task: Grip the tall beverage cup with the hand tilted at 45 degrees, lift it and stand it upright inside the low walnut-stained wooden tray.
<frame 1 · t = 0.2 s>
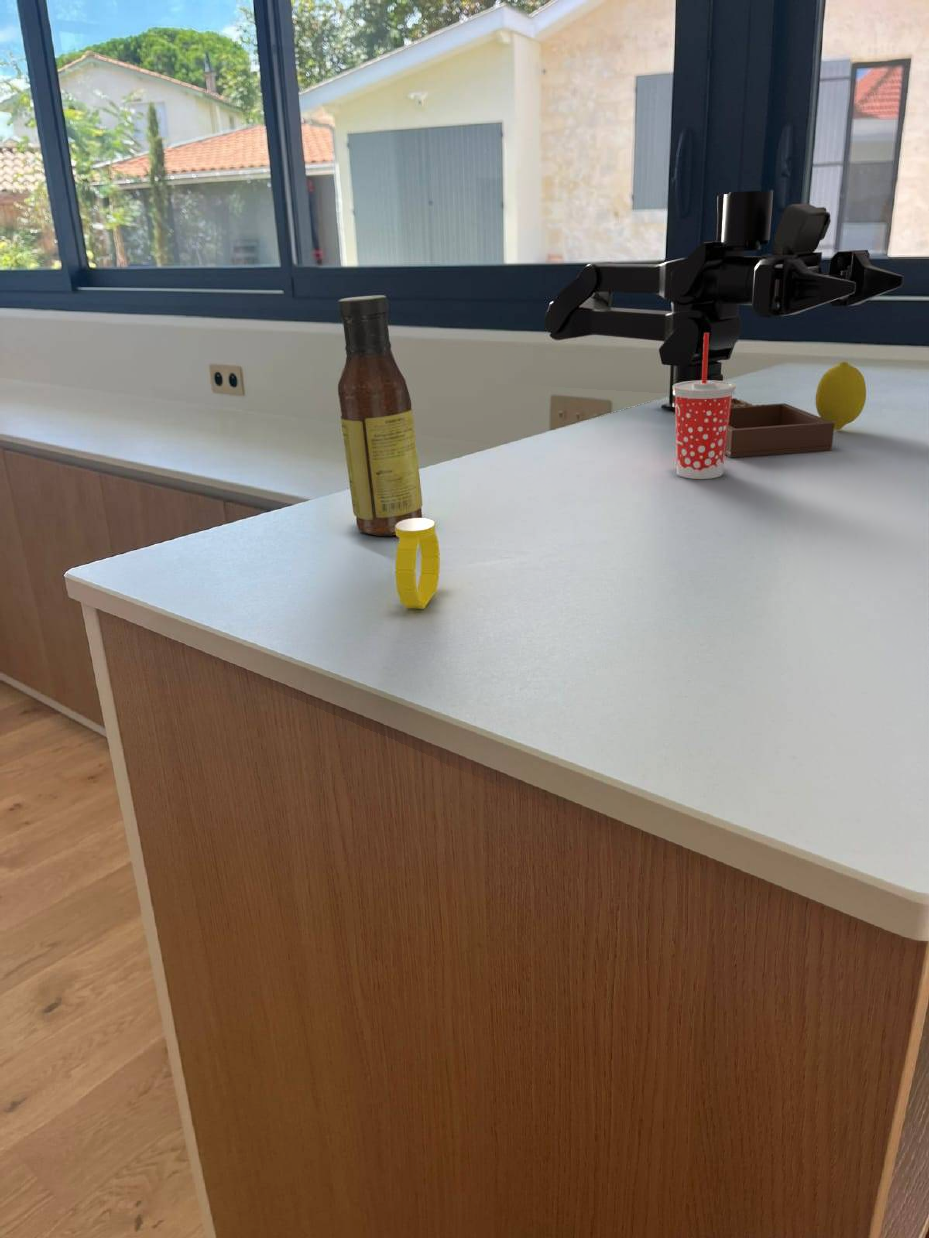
hand: (879, 284, 104), 17 cm above the worktop, tool horizontal, fingers open, 9 cm apart
lemon: (836, 431, 113), on the worktop
beverage cup: (699, 475, 98), on the worktop
pastry: (726, 420, 122), on the worktop
sauce bottle: (387, 530, 85), on the worktop
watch: (421, 604, 68), on the worktop
tray: (758, 442, 110), on the worktop
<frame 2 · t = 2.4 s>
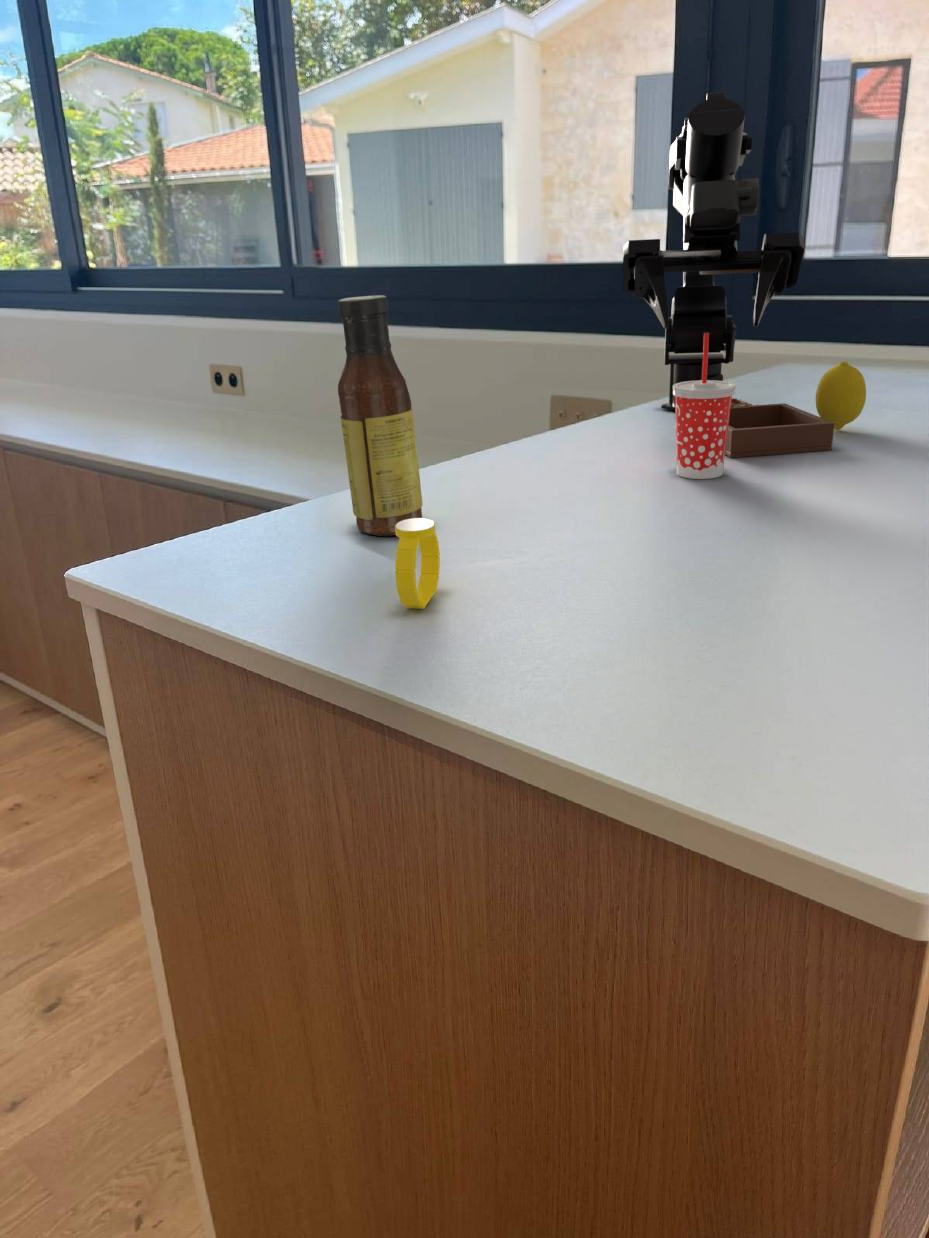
hand: (711, 325, 100), 14 cm above the worktop, tool tilted 45°, fingers open, 9 cm apart
nothing on the worktop moved.
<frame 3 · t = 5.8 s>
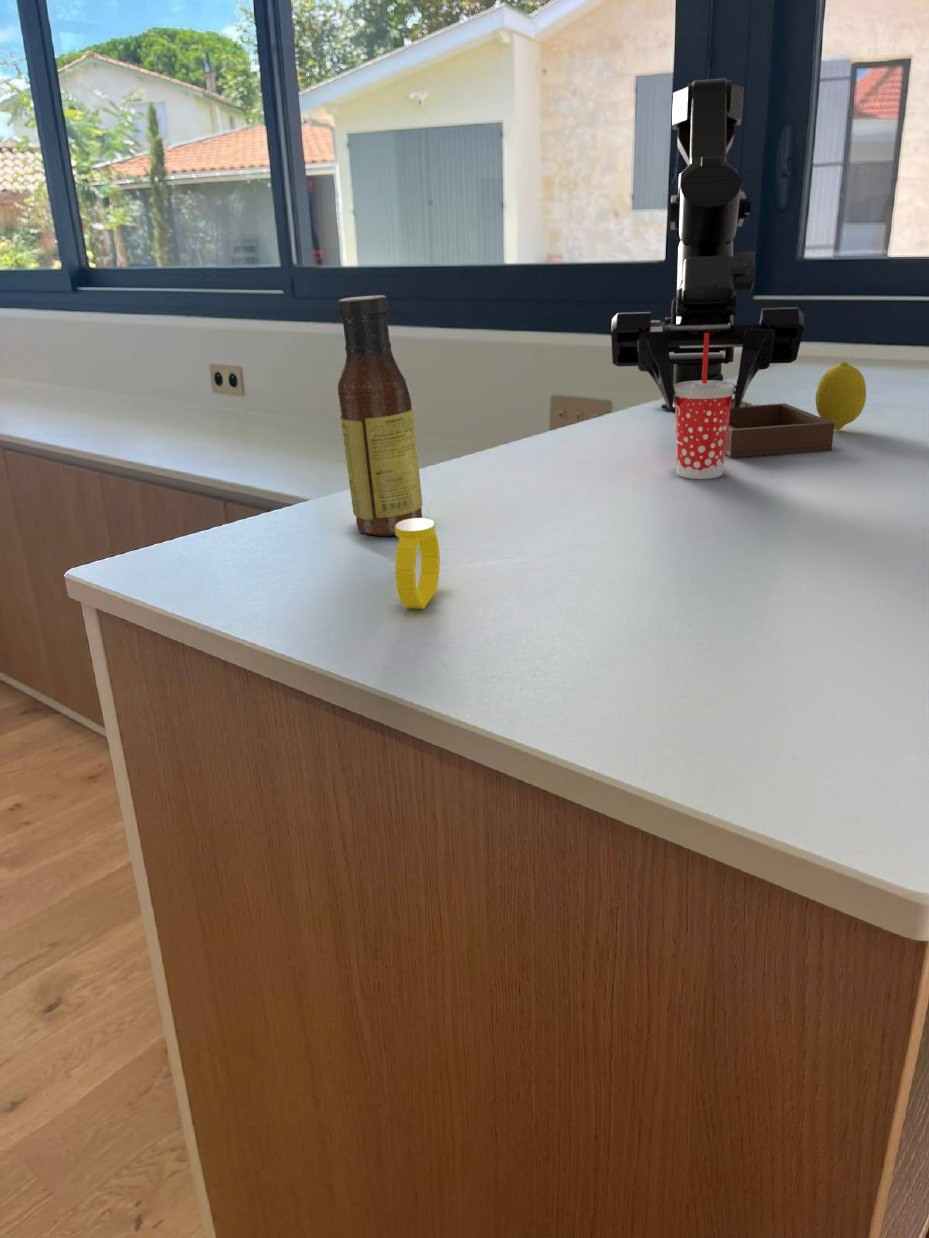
hand: (703, 407, 94), 7 cm above the worktop, tool tilted 45°, fingers closed on beverage cup, 6 cm apart
beverage cup: (699, 475, 98), on the worktop, touching gripper
everything else where it was.
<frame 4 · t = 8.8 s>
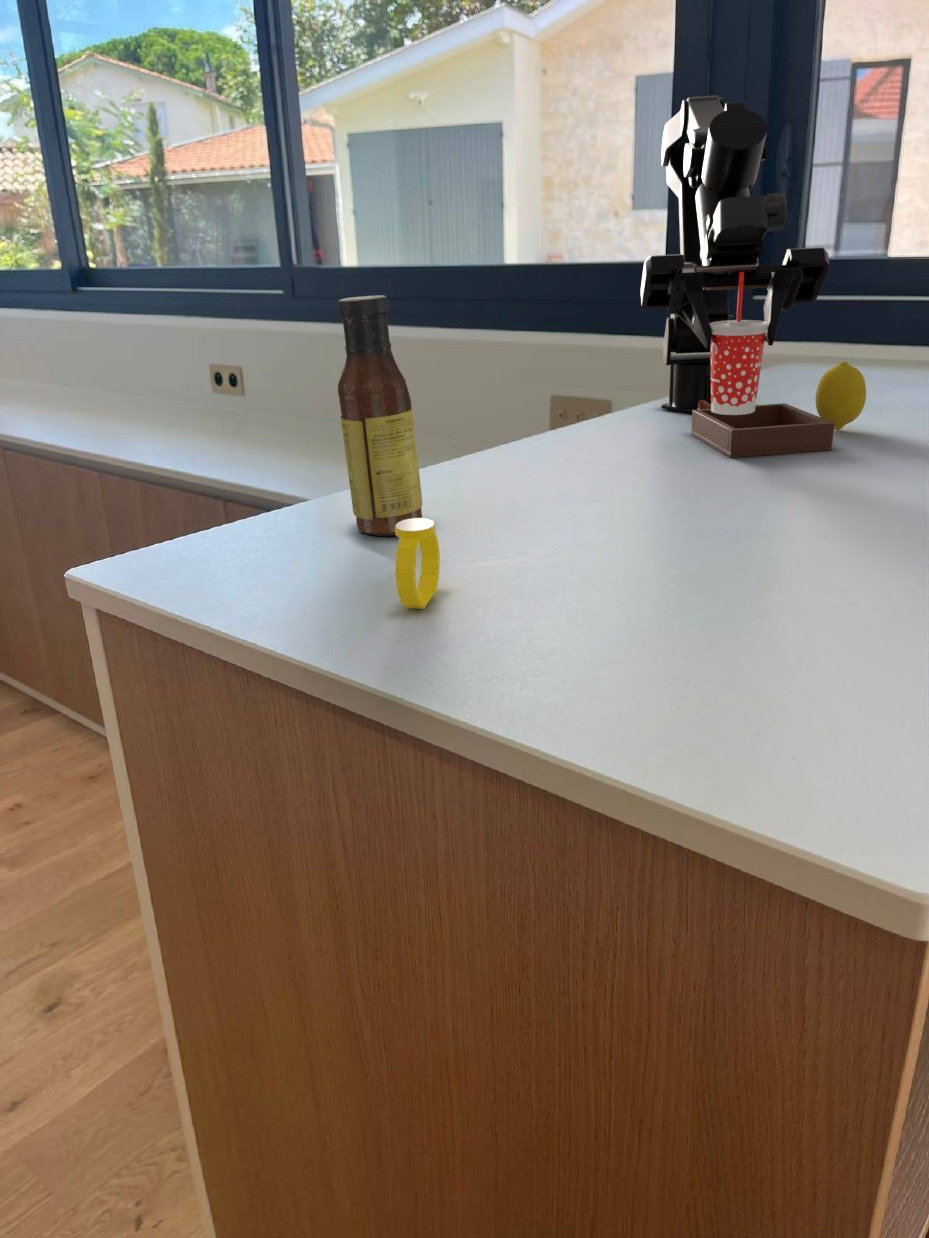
hand: (739, 344, 97), 12 cm above the worktop, tool tilted 45°, fingers closed on beverage cup, 6 cm apart
beverage cup: (732, 412, 102), point 5 cm above the worktop, touching gripper
everything else where it was.
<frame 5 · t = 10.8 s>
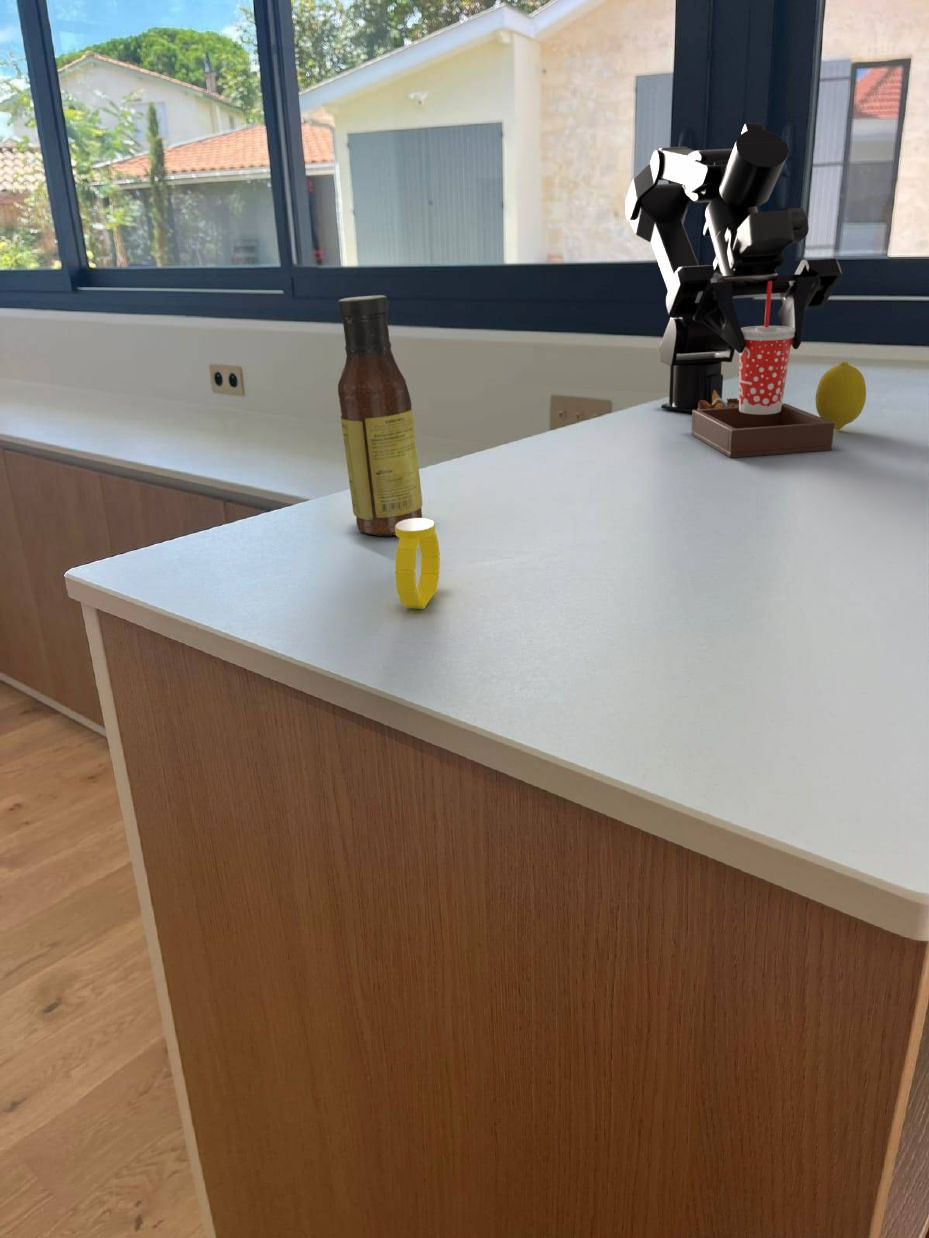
hand: (769, 348, 104), 11 cm above the worktop, tool tilted 45°, fingers closed on beverage cup, 6 cm apart
beverage cup: (759, 412, 108), point 3 cm above the worktop, touching gripper
everything else where it was.
when the fingers open (8 cm above the worktop, at t = 12.2 s): beverage cup stays where it is, resting on tray.
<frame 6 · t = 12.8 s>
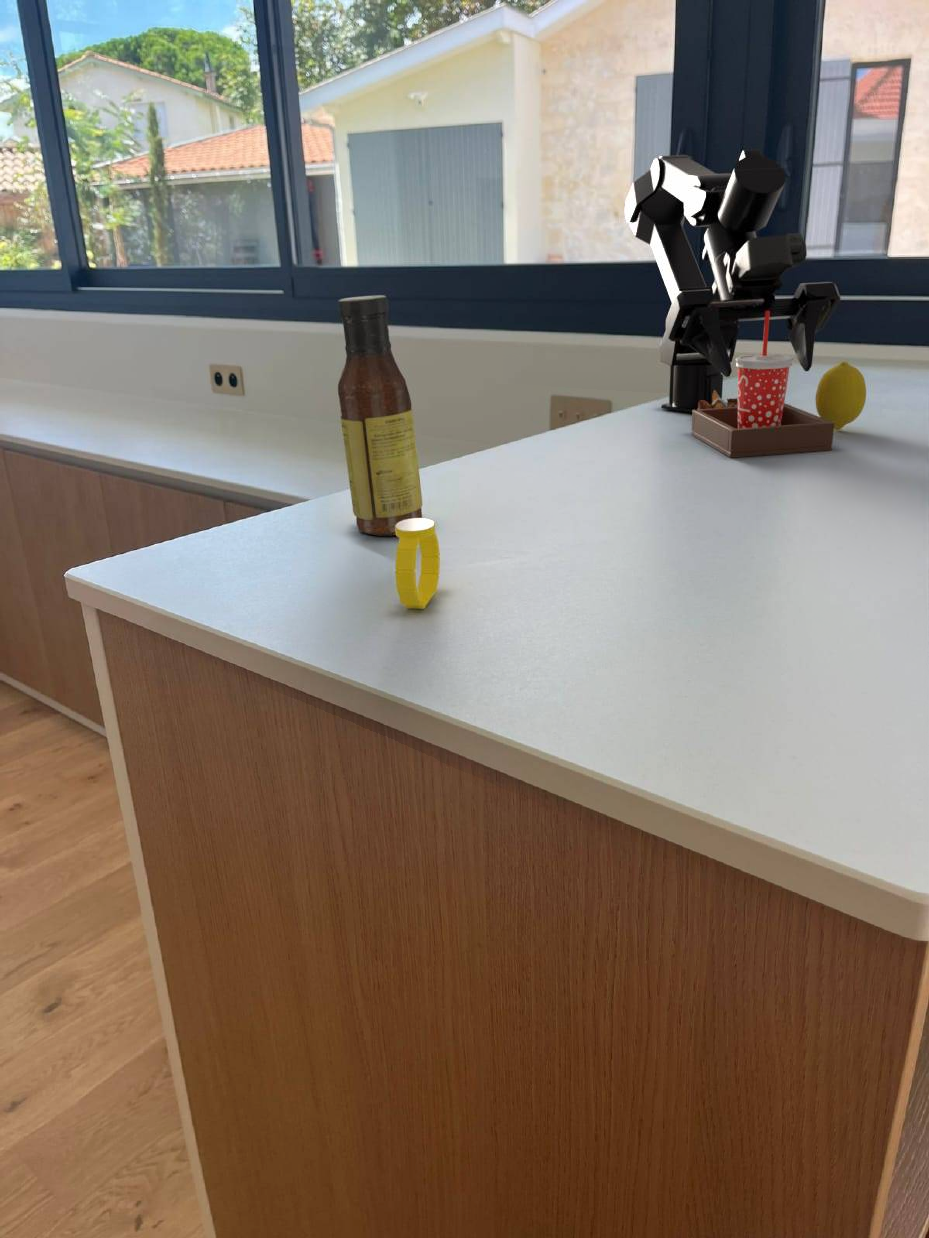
hand: (768, 371, 105), 8 cm above the worktop, tool tilted 45°, fingers open, 9 cm apart
beverage cup: (758, 439, 110), resting on tray
everything else where it was.
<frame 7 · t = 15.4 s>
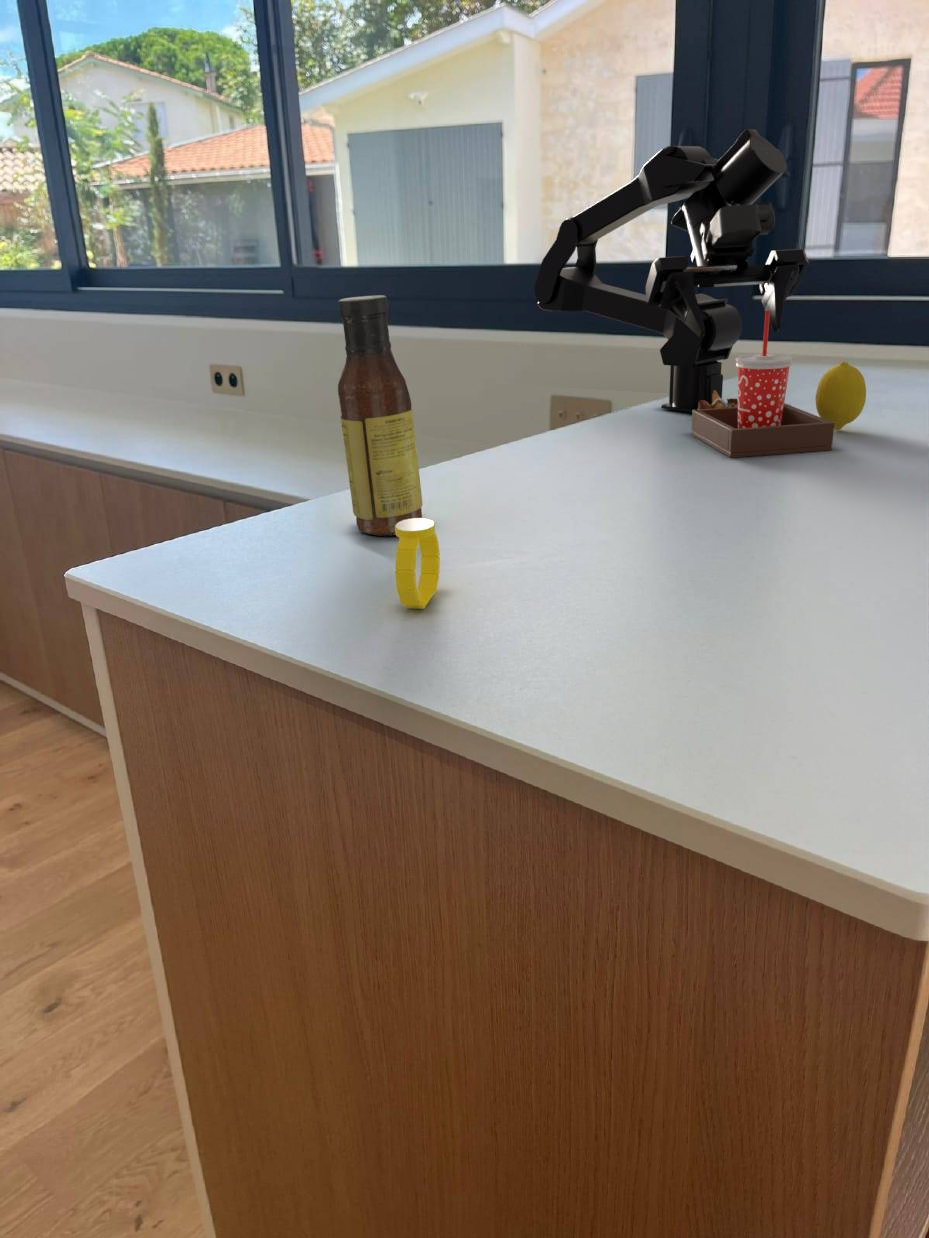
hand: (740, 332, 112), 11 cm above the worktop, tool tilted 45°, fingers open, 9 cm apart
nothing on the worktop moved.
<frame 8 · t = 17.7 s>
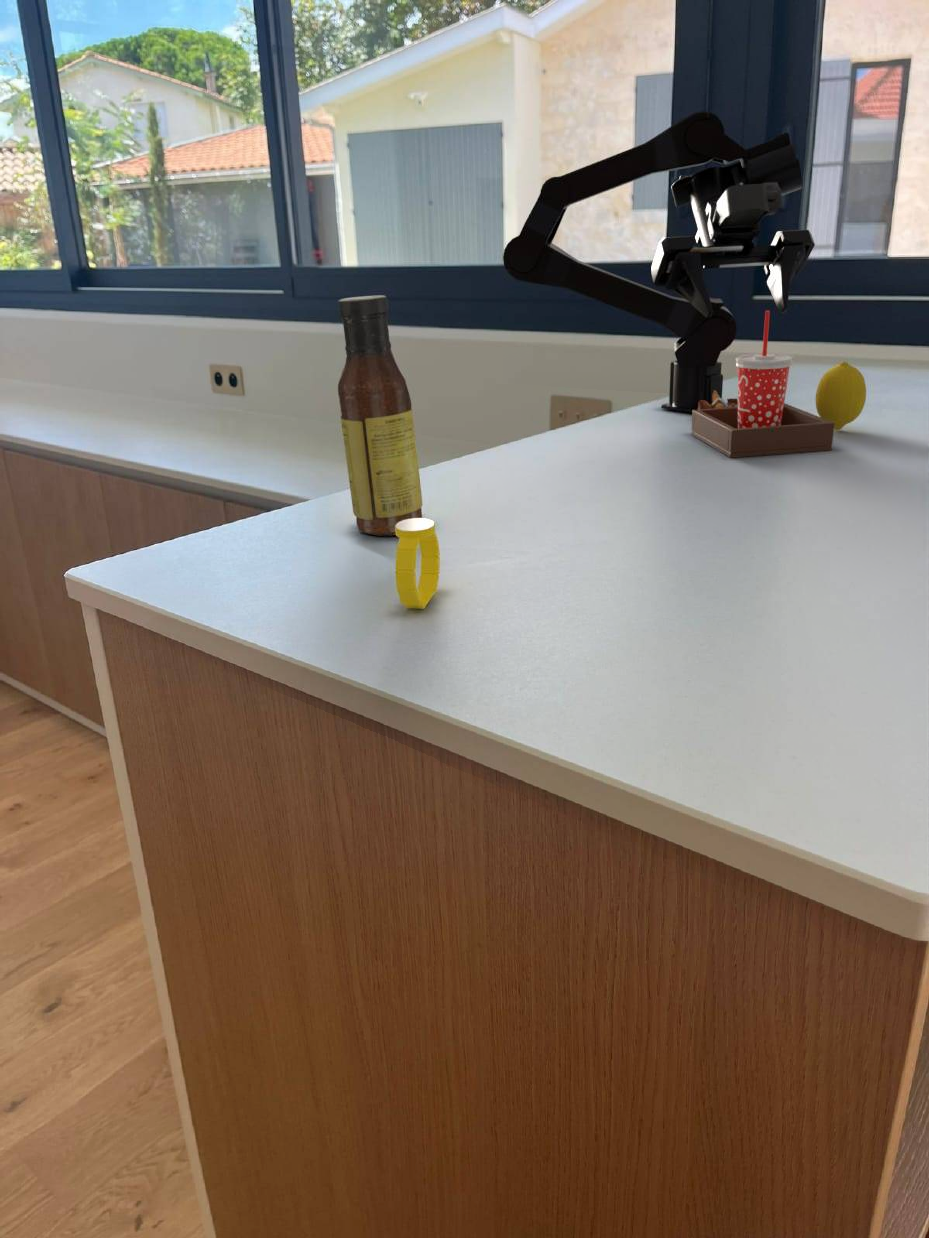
hand: (747, 312, 112), 14 cm above the worktop, tool tilted 45°, fingers open, 9 cm apart
nothing on the worktop moved.
at the end: beverage cup inside the target area in the tray (0.1 cm from its centre), point 0.3 cm above the tray's base; beverage cup tilted 0°; the gripper is holding nothing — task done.
